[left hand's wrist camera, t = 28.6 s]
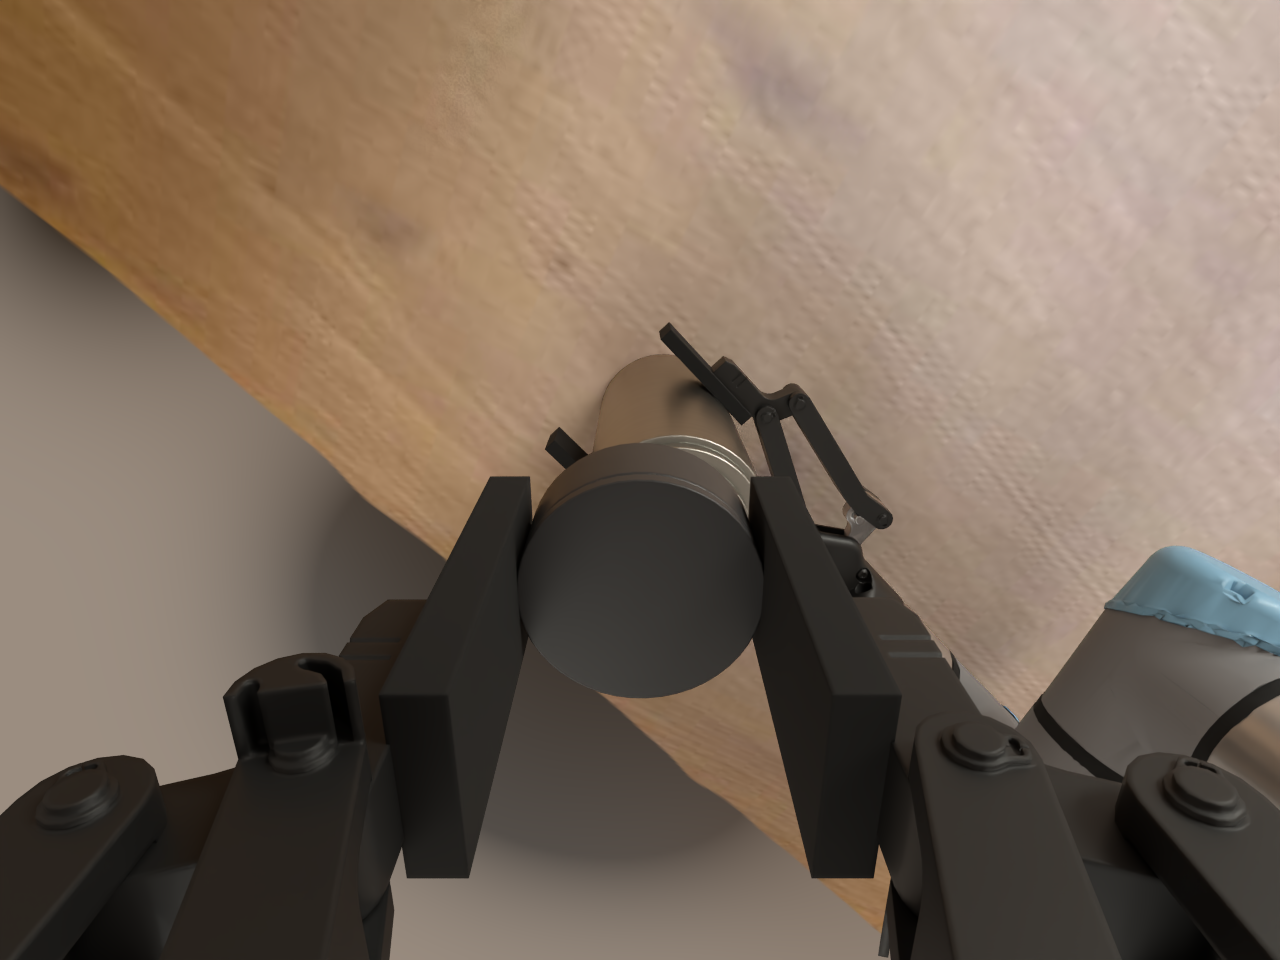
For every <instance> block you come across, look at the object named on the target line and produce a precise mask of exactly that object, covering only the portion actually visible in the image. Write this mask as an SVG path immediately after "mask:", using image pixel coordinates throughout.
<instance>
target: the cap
mask: <svg viewBox="0 0 1280 960" xmlns="http://www.w3.org/2000/svg"><path fill="white" fill-rule="evenodd" d="M763 581H764V569H763V564H762V560H761V557H760V554H759V551H758V548H757V544H756V541H755V538H754V535H753V532H752V529H751V526H750V523H749V520H748V517H747V514H746V511H745V509H744V506H743V503H742V502H741V500H740V498H739V496H738V494H737V493H736V491H735V490H734V488H733V487H732V486H731V484H730V483H729V482H728V481H727V480H726V479H725V478H724V477H723V476H722V475H721V474H720V473H719V472H718V471H717V470H716V469H715V468H713V467H712V466H711V465H710V464H708V463H707V462H705V461H704V460H702V459H700V458H698V457H697V456H695V455H693V454H690V453H688V452H686V451H683V450H681V449H677V448H674V447H670V446H666V445H660V444H653V443H629V444H620V445H616V446H612V447H607V448H604V449H601V450H599V451H596V452H593V453H591V454H589V455H587V456H585V457H583V458H582V459H580V460H578V461H577V462H575V463H574V464H572V465H571V466H569V467H568V468H567V469H566V470H565V471H563V472H562V473H561V474H560V475H559V476H558V477H557V478H556V479H555V480H554V482H553V483H552V484H551V485H550V487H549V488H548V489H547V491H546V492H545V494H544V496H543V497H542V499H541V501H540V503H539V505H538V508H537V510H536V513H535V516H534V519H533V522H532V525H531V528H530V531H529V534H528V537H527V541H526V544H525V547H524V550H523V553H522V556H521V560H520V564H519V568H518V572H517V588H518V603H519V614H520V617H521V620H522V623H523V626H524V628H525V630H526V632H527V634H528V636H529V638H530V640H531V641H532V643H533V644H534V646H535V647H536V648H537V650H538V651H539V653H540V654H541V655H542V656H543V657H544V658H545V659H546V660H547V661H548V662H549V663H550V664H551V665H552V666H553V667H554V668H556V669H557V670H558V671H559V672H561V673H562V674H563V675H565V676H567V677H568V678H570V679H571V680H573V681H575V682H577V683H579V684H581V685H583V686H585V687H587V688H590V689H592V690H595V691H598V692H601V693H605V694H609V695H613V696H619V697H627V698H654V697H663V696H668V695H673V694H677V693H680V692H684V691H687V690H690V689H692V688H695V687H697V686H699V685H701V684H703V683H705V682H707V681H709V680H710V679H712V678H714V677H715V676H717V675H719V674H720V673H721V672H722V671H724V670H725V669H726V668H728V667H729V666H730V665H731V664H732V663H733V662H734V661H735V660H736V659H737V658H738V657H739V656H740V655H741V653H742V652H743V651H744V649H745V648H746V647H747V646H748V644H749V642H750V641H751V639H752V637H753V636H754V634H755V632H756V630H757V627H758V625H759V622H760V620H761V610H762V596H763Z"/></svg>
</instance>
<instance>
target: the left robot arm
mask: <svg viewBox="0 0 1280 960" xmlns="http://www.w3.org/2000/svg"><path fill="white" fill-rule="evenodd" d="M748 520H749V523H750V526H751V529H752V532H753V535H754V538H755V541H756V544H757V548H758V551H759V554H760V557H761V560H762V564H763V569H764V581H763V596H762V610H761V620H760V622H759V625H758V627H757V630H756V632H755V634H754V636H753V637H752V638H753V642H754V646H755V650H756V654H757V658H758V662H759V666H760V671H761V675H762V679H763V683H764V687H765V691H766V695H767V699H768V703H769V707H770V711H771V715H772V719H773V723H774V727H775V731H776V735H777V739H778V743H779V748H780V752H781V756H782V760H783V764H784V768H785V772H786V776H787V780H788V784H789V788H790V792H791V796H792V800H793V804H794V808H795V812H796V816H797V821H798V825H799V829H800V833H801V837H802V841H803V845H804V849H805V853H806V857H807V861H808V865H809V869H810V873H811V877H812V878H874V872H875V866H876V859H877V853H878V847H879V845H880V848H881V851H882V853H883V856H884V859H885V862H886V865H887V867H888V870H889V873H890V876H891V880H890V886H889V892H888V898H887V904H886V910H885V916H884V922H883V928H882V934H881V940H880V947H879V954H878V956H882V957H888V955H889V949H890V956H891V960H1280V810H1279V809H1278V808H1277V807H1276V806H1275V805H1274V804H1273V803H1272V802H1271V801H1270V800H1268V799H1267V798H1266V797H1265V796H1264V795H1263V794H1261V793H1260V792H1259V791H1257V790H1256V789H1255V788H1253V787H1252V786H1251V785H1249V784H1248V783H1247V782H1245V781H1244V780H1243V779H1242V778H1240V777H1238V776H1236V775H1234V774H1232V773H1230V772H1228V771H1226V770H1224V769H1222V768H1220V767H1218V766H1216V765H1214V764H1212V763H1208V762H1206V761H1203V760H1199V759H1196V758H1192V757H1189V756H1186V755H1181V754H1172V753H1163V752H1155V753H1150V754H1145V755H1139V756H1137V757H1136V758H1135V759H1134V760H1133V761H1132V762H1131V763H1130V764H1129V765H1127V768H1126V772H1125V775H1124V778H1123V782H1122V783H1120V782H1115V781H1111V780H1106V779H1102V778H1097V777H1093V776H1088V775H1084V774H1079V773H1075V772H1070V771H1066V770H1063V769H1059V768H1056V767H1052V766H1049V765H1046V764H1044V763H1043V760H1042V758H1041V757H1040V755H1039V754H1038V752H1037V751H1036V749H1035V748H1034V746H1033V745H1032V743H1031V742H1030V741H1029V740H1027V739H1026V738H1025V737H1024V736H1022V735H1021V734H1020V733H1019V732H1017V731H1016V730H1015V729H1013V728H1012V727H1010V726H1008V725H1006V724H1004V723H1001V722H999V721H997V720H995V719H993V718H991V717H988V716H984V715H981V713H980V711H979V710H978V708H977V707H976V705H975V704H974V702H973V701H972V699H971V697H970V696H969V694H968V693H967V691H966V690H965V688H964V687H963V685H962V683H961V682H960V680H959V679H958V677H957V676H956V674H955V673H954V671H953V669H952V668H951V666H950V665H949V663H948V662H947V660H946V659H945V658H942V652H941V651H940V649H939V648H938V646H937V645H936V643H935V641H934V640H931V635H930V634H929V632H928V631H927V629H926V627H925V626H924V624H923V623H922V621H921V620H920V618H919V617H918V615H917V614H915V613H914V612H912V611H911V610H910V609H908V608H907V607H906V606H904V605H903V604H901V603H900V602H899V601H897V600H896V599H894V598H893V597H852V596H851V594H850V592H849V590H848V588H847V586H846V584H845V582H844V580H843V578H842V576H841V575H840V573H839V571H838V569H837V567H836V565H835V563H834V561H833V559H832V557H831V555H830V553H829V551H828V549H827V547H826V545H825V543H824V541H823V539H822V537H821V536H820V534H819V532H818V530H817V528H816V526H815V524H814V522H813V520H812V518H811V516H810V514H809V512H808V510H807V508H806V506H805V504H804V502H803V500H802V498H801V496H800V495H799V493H798V491H797V489H796V487H795V485H794V483H793V481H792V479H791V477H751V478H750V495H749V512H748ZM532 522H533V521H532V504H531V487H530V477H490V478H489V480H488V482H487V484H486V486H485V488H484V490H483V492H482V494H481V496H480V497H479V499H478V501H477V503H476V505H475V507H474V509H473V511H472V513H471V515H470V517H469V519H468V521H467V523H466V525H465V527H464V529H463V531H462V533H461V535H460V537H459V538H458V540H457V542H456V544H455V546H454V548H453V550H452V552H451V554H450V556H449V558H448V560H447V562H446V564H445V566H444V568H443V570H442V572H441V574H440V576H439V578H438V579H437V581H436V583H435V585H434V587H433V589H432V591H431V593H430V595H429V597H428V599H427V600H387V601H385V602H384V603H383V604H381V605H380V606H379V607H377V608H376V609H374V610H373V611H372V612H370V613H369V614H368V615H366V616H365V617H363V619H362V620H361V622H360V624H359V625H358V627H357V628H356V630H355V631H354V633H353V634H352V636H351V638H350V643H347V644H346V646H345V647H344V649H343V650H342V652H341V653H340V655H339V657H338V656H335V655H331V654H327V653H301V654H296V655H292V656H287V657H283V658H278V659H275V660H273V661H271V662H268V663H266V664H263V665H261V666H259V667H256V668H254V669H253V670H251V671H250V672H248V673H247V674H245V675H244V676H242V677H241V678H239V679H238V680H237V681H235V682H234V683H233V685H232V686H231V687H230V688H229V690H228V691H227V692H226V694H225V695H224V696H223V699H224V703H225V708H226V712H227V716H228V720H229V724H230V728H231V732H232V736H233V740H234V744H235V748H236V752H237V756H238V762H237V764H236V767H235V768H232V769H229V770H225V771H222V772H218V773H215V774H211V775H206V776H202V777H197V778H193V779H189V780H184V781H180V782H175V783H171V784H166V785H162V786H159V783H158V780H157V776H156V773H155V770H154V768H153V767H152V766H151V765H150V764H148V763H147V762H146V761H145V760H144V759H141V758H136V757H131V756H125V755H120V756H111V757H102V758H96V759H93V760H90V761H86V762H84V763H79V764H77V765H74V766H71V767H68V768H66V769H64V770H62V771H60V772H58V773H56V774H54V775H52V776H50V777H48V778H47V779H45V780H43V781H41V782H39V783H38V784H37V785H35V786H34V787H33V788H31V789H30V790H29V791H28V792H26V793H25V794H24V795H22V796H21V797H20V798H18V799H17V800H16V801H15V802H14V803H13V804H12V805H11V806H10V807H9V808H8V809H6V810H5V811H4V812H3V813H2V814H1V815H0V960H389V957H390V948H391V937H392V927H393V917H394V906H393V899H392V892H391V886H390V878H391V875H392V872H393V870H394V867H395V864H396V861H397V859H398V856H399V853H400V850H401V847H402V850H403V856H404V862H405V869H406V875H407V878H469V875H470V871H471V867H472V863H473V859H474V855H475V851H476V847H477V843H478V839H479V835H480V831H481V826H482V822H483V818H484V814H485V810H486V806H487V802H488V798H489V794H490V790H491V786H492V782H493V778H494V774H495V770H496V766H497V762H498V758H499V753H500V749H501V745H502V741H503V737H504V733H505V729H506V725H507V721H508V717H509V713H510V709H511V705H512V701H513V697H514V693H515V689H516V685H517V680H518V676H519V672H520V668H521V664H522V660H523V656H524V652H525V648H526V644H527V640H528V634H527V632H526V630H525V628H524V626H523V623H522V620H521V617H520V614H519V603H518V588H517V572H518V568H519V564H520V560H521V556H522V553H523V550H524V547H525V544H526V541H527V537H528V534H529V531H530V528H531V525H532Z"/></svg>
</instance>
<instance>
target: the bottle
mask: <svg viewBox="0 0 1280 960" xmlns="http://www.w3.org/2000/svg"><path fill="white" fill-rule="evenodd" d="M629 443H653V444H660V445H666V446H670V447H674V448H677V449H681V450H683V451H686V452H688V453H690V454H693V455H695V456H697V457H698V458H700V459H702V460H704V461H705V462H707V463H708V464H710V465H711V466H712V467H713V468H715V469H716V470H717V471H718V472H719V473H720V474H721V475H722V476H723V477H724V478H725V479H726V480H727V481H728V482H729V483H730V484H731V486H732V487H733V488H734V490H735V491H736V493H737V494H738V496H739V498H740V500H741V502H742V503H743V506H744V509H745V511H746V514H747V517H748V512H749V495H750V478H751V477H757V474H756V472H755V470H754V468H753V465H752V463H751V461H750V459H749V456H748V454H747V452H746V449H745V447H744V445H743V443H742V440H741V438H740V436H739V434H738V431H737V429H736V427H735V425H734V422H733V420H732V418H731V416H730V413H729V412H728V411H727V409H726V408H725V407H724V406H723V405H722V404H721V403H720V402H719V401H718V400H717V399H716V398H715V397H714V396H713V395H712V394H711V392H710V391H709V390H708V389H707V388H706V387H705V386H704V385H703V384H702V383H701V382H700V381H699V380H698V379H697V378H696V376H695V375H694V374H693V373H692V372H691V371H690V370H689V369H688V368H687V367H686V366H685V365H684V364H683V363H682V362H681V361H680V359H679V358H678V357H677V356H674V355H652V356H647V357H644V358H641V359H638V360H636V361H634V362H632V363H630V364H629V365H627V366H626V367H625V368H623V369H622V370H621V371H620V372H619V373H618V374H617V375H616V376H615V377H614V378H613V380H612V381H611V382H610V384H609V386H608V387H607V389H606V392H605V394H604V396H603V400H602V404H601V409H600V415H599V420H598V425H597V431H596V436H595V442H594V447H593V452H596V451H599V450H601V449H604V448H607V447H612V446H616V445H620V444H629ZM593 452H592V453H593Z"/></svg>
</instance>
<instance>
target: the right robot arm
mask: <svg viewBox="0 0 1280 960" xmlns="http://www.w3.org/2000/svg"><path fill="white" fill-rule="evenodd" d="M659 332H660V338H661V340H662V341H663V342H664V343H665V345H666V346H667V347H668V348H669V349H670V350H671V351H672V352H673V353H674V354H675V355H676V356H677V357H678V358H679V359H680V361H681V362H682V363H683V364H684V365H685V366H686V367H687V368H688V369H689V370H690V371H691V372H692V373H693V374H694V375H695V376H696V378H697V379H698V380H699V381H700V382H701V383H702V384H703V385H704V386H705V387H706V388H707V389H708V390H709V391H710V392H711V394H712V395H713V396H714V397H715V398H716V399H717V400H718V401H719V402H720V403H721V404H722V405H723V406H724V407H725V408H726V409H727V411H728V412H729V413H730V414H731V415H732V416H733V417H734V418H735V419H736V420H737V421H738V422H739V423H740V424H741V425H743V424H744V423H745V422H746V421H747V420H748V419H749V418H751V417H753V419H754V423H755V426H756V429H757V432H758V435H759V438H760V442H761V445H762V448H763V451H764V454H765V457H766V460H767V464H768V467H769V470H770V473H771V476H772V477H791V479H792V481H793V483H794V485H795V487H796V489H797V491H798V493H799V495H800V496H801V498H802V500H803V502H804V499H803V495H802V492H801V489H800V486H799V482H798V479H797V476H796V473H795V469H794V466H793V463H792V459H791V456H790V453H789V450H788V446H787V443H786V440H785V436H784V433H783V430H782V427H781V423H780V420H782V419H785V418H787V417H789V416H793V417H794V419H795V421H796V422H797V424H798V425H799V427H800V429H801V430H802V432H803V434H804V435H805V437H806V439H807V440H808V442H809V444H810V445H811V447H812V448H813V450H814V452H815V453H816V455H817V457H818V458H819V460H820V462H821V463H822V465H823V467H824V468H825V470H826V471H827V473H828V475H829V476H830V478H831V480H832V481H833V483H834V485H835V486H836V488H837V489H838V490H839V492H840V493H841V495H842V496H843V497H844V499H845V500H846V503H845V505H844V506H843V515H844V516H845V517H846V519H847V526H846V528H845V529H841V528H835V527H829V526H823V525H817V524H815V526H816V528H817V530H818V532H819V534H820V536H821V537H822V539H823V541H824V543H825V545H826V547H827V549H828V551H829V553H830V555H831V557H832V559H833V561H834V563H835V565H836V567H837V569H838V571H839V573H840V575H841V576H842V578H843V580H844V582H845V584H846V586H847V588H848V590H849V592H850V594H851V596H852V597H893V598H894V599H896V600H897V601H899V602H900V603H901V604H903V605H904V606H906V607H907V608H908V609H910V608H909V607H908V606H907V605H905V604H904V603H903V601H902V599H901V598H900V597H899V595H898V594H897V593H896V592H895V591H894V590H893V589H892V588H891V587H890V586H889V585H888V584H887V583H886V582H885V581H884V579H883V578H882V577H881V576H880V575H879V574H878V573H877V572H876V571H875V570H874V569H873V568H872V567H871V566H870V565H869V564H868V562H867V561H866V560H865V559H864V557H863V553H862V548H861V543H862V542H863V541H864V540H865V539H866V538H867V537H868V536H869V535H870V534H871V533H872V532H873V530H874V529H875V528H878V529H885V528H887V527H889V526H890V525H891V523H892V521H893V517H892V514H891V513H890V512H889V511H888V509H887V508H886V507H885V506H884V504H883V503H882V502H881V501H880V500H879V499H878V497H877V496H875V495H874V494H873V493H871V492H870V491H869V490H867V489H866V488H865V487H863V486H862V485H861V483H860V482H859V480H858V478H857V476H856V475H855V473H854V471H853V470H852V468H851V466H850V465H849V463H848V461H847V460H846V458H845V456H844V455H843V453H842V451H841V450H840V448H839V446H838V445H837V443H836V441H835V440H834V438H833V436H832V435H831V433H830V431H829V430H828V428H827V426H826V425H825V423H824V421H823V419H822V418H821V416H820V414H819V413H818V411H817V409H816V408H815V406H814V404H813V403H812V401H811V399H810V398H809V397H808V396H807V394H806V393H805V392H804V391H803V390H802V389H801V388H800V387H799V386H798V385H797V384H788V385H786V386H785V387H784V388H783V389H782V390H779V391H777V392H775V393H771V394H766V393H763V392H761V391H760V390H759V389H758V388H757V387H756V386H755V385H754V384H753V383H752V382H751V381H750V379H749V378H748V377H747V376H746V375H745V374H744V373H743V372H742V371H741V370H740V369H739V367H738V366H737V365H736V364H735V363H734V362H733V361H732V360H730V359H728V358H726V357H724V356H723V357H722V358H721V359H720V360H718V361H717V362H716V363H715V364H714V365H713V366H712V367H710V366H709V365H708V363H707V362H706V361H705V360H704V359H703V358H702V357H701V356H700V355H699V354H698V353H697V352H696V351H695V349H694V348H693V347H692V346H691V345H690V344H689V343H688V342H687V341H686V340H685V339H684V338H683V337H682V335H681V334H680V333H679V332H678V331H677V330H676V329H675V328H674V327H673V326H672V325H671V324H670V323H668V324H667V325H666V326H665V327H663V328H662V329H661V330H660V331H659ZM545 450H546V451H547V452H548V453H549V454H550V455H552V456H553V457H554V458H555V459H556V460H557V461H558V462H559V463H560V464H561V465H562V466H563V467H564V468H565V469H567V468H568V467H569V466H571V465H572V464H574V463H575V462H577V461H578V460H580V459H582V458H583V457H585V456H587V455H588V454H587V453H586V452H585V451H584V450H583V449H582V448H581V447H579V446H578V445H577V444H576V443H575V442H574V441H573V440H572V439H571V438H570V437H569V436H568V435H567V434H566V433H565V432H564V431H563V430H562V429H561V428H560V427H559V428H558V429H556V430H555V431H554V432H553V433H552V434H551V435H550V438H549V440H548V443H547V445H546V448H545ZM804 504H805V502H804ZM805 506H806V505H805ZM1104 609H1105V610H1104V612H1103V613H1102V614H1101V616H1100V617H1099V618H1098V620H1097V621H1096V623H1095V624H1094V625H1093V627H1092V628H1091V629H1090V631H1089V632H1088V634H1087V635H1086V636H1085V638H1084V639H1083V640H1082V642H1081V643H1080V645H1079V646H1078V647H1077V649H1076V650H1075V651H1074V653H1073V654H1072V655H1071V657H1070V658H1069V660H1068V661H1067V662H1066V664H1065V665H1064V666H1063V668H1062V669H1061V671H1060V672H1059V673H1058V675H1057V676H1056V677H1055V679H1054V680H1053V682H1052V683H1051V684H1050V686H1049V687H1048V688H1047V690H1046V691H1045V692H1044V693H1043V694H1042V695H1041V696H1040V697H1039V699H1038V700H1037V701H1036V702H1035V704H1034V705H1033V706H1032V707H1031V709H1030V710H1029V711H1028V713H1027V714H1026V715H1025V716H1024V718H1023V719H1022V720H1021V722H1020V723H1019V720H1018V718H1017V717H1016V716H1015V715H1014V714H1013V713H1012V712H1011V711H1010V710H1009V709H1008V708H1007V707H1005V706H1003V705H1001V704H1000V703H999V702H998V701H997V700H996V699H995V698H994V697H993V696H992V695H991V694H990V693H989V691H988V690H987V689H986V688H985V687H984V686H983V685H982V684H981V683H980V682H979V681H978V680H977V679H976V678H975V677H974V676H973V675H972V674H971V673H970V672H969V671H968V670H967V669H966V668H965V667H964V666H963V665H962V664H961V663H960V662H959V661H958V660H957V659H956V658H955V657H954V655H953V654H952V653H951V652H950V650H949V649H948V648H947V647H946V646H945V645H944V644H943V643H942V642H941V641H940V640H939V639H938V637H937V636H936V635H935V634H934V633H933V632H932V631H931V630H930V629H929V628H928V627H927V626H926V625H925V623H924V622H923V621H922V620H921V619H920V620H921V621H922V623H923V624H924V626H925V627H926V629H927V631H928V632H929V634H930V635H931V640H934V641H935V643H936V645H937V646H938V648H939V649H940V651H941V652H942V658H945V659H946V660H947V662H948V663H949V665H950V666H951V668H952V669H953V671H954V673H955V674H956V676H957V677H958V679H959V680H960V682H961V683H962V685H963V687H964V688H965V690H966V691H967V693H968V694H969V696H970V697H971V699H972V701H973V702H974V704H975V705H976V707H977V708H978V710H979V711H980V713H981V715H984V716H988V717H991V718H993V719H995V720H997V721H999V722H1001V723H1004V724H1006V725H1008V726H1010V727H1012V728H1013V729H1015V730H1016V731H1017V732H1019V733H1020V734H1021V735H1022V736H1024V737H1025V738H1026V739H1027V740H1029V741H1030V742H1031V743H1032V745H1033V746H1034V748H1035V749H1036V751H1037V752H1038V754H1039V755H1040V757H1041V758H1042V760H1043V763H1044V764H1046V765H1049V766H1052V767H1056V768H1059V769H1063V770H1066V771H1070V772H1075V773H1079V774H1084V775H1088V776H1093V777H1097V778H1102V779H1106V780H1111V781H1115V782H1120V783H1122V782H1123V778H1124V775H1125V772H1126V768H1127V765H1129V764H1130V763H1131V762H1132V761H1133V760H1134V759H1135V758H1136V757H1137V756H1139V755H1145V754H1150V753H1155V752H1163V753H1172V754H1181V755H1186V756H1189V757H1192V758H1196V759H1199V760H1203V761H1206V762H1208V763H1212V764H1214V765H1216V766H1218V767H1220V768H1222V769H1224V770H1226V771H1228V772H1230V773H1232V774H1234V775H1236V776H1238V777H1240V778H1242V779H1243V780H1244V781H1245V782H1247V783H1248V784H1249V785H1251V786H1252V787H1253V788H1255V789H1256V790H1257V791H1259V792H1260V793H1261V794H1263V795H1264V796H1265V797H1266V798H1267V799H1268V800H1270V801H1271V802H1272V803H1273V804H1274V805H1275V806H1276V807H1277V808H1278V809H1279V810H1280V592H1278V591H1277V590H1275V589H1273V588H1271V587H1270V586H1268V585H1266V584H1264V583H1262V582H1260V581H1258V580H1257V579H1255V578H1253V577H1251V576H1249V575H1247V574H1245V573H1243V572H1241V571H1239V570H1237V569H1235V568H1234V567H1232V566H1230V565H1228V564H1226V563H1224V562H1222V561H1219V560H1217V559H1215V558H1213V557H1211V556H1209V555H1207V554H1205V553H1202V552H1200V551H1197V550H1195V549H1192V548H1189V547H1184V546H1169V547H1165V548H1162V549H1160V550H1158V551H1157V552H1155V553H1154V554H1153V555H1151V556H1150V557H1149V558H1148V560H1147V561H1146V562H1145V563H1144V564H1143V566H1142V567H1141V568H1140V569H1139V570H1138V571H1137V572H1136V573H1135V574H1134V576H1133V577H1132V578H1131V579H1130V580H1129V581H1128V582H1127V583H1126V584H1125V586H1124V587H1123V588H1122V589H1121V590H1120V591H1119V592H1118V593H1117V594H1116V595H1115V597H1114V598H1113V599H1112V600H1109V601H1108V602H1107V603H1105V607H1104ZM910 610H911V609H910ZM911 611H912V610H911ZM912 612H913V611H912Z"/></svg>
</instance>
